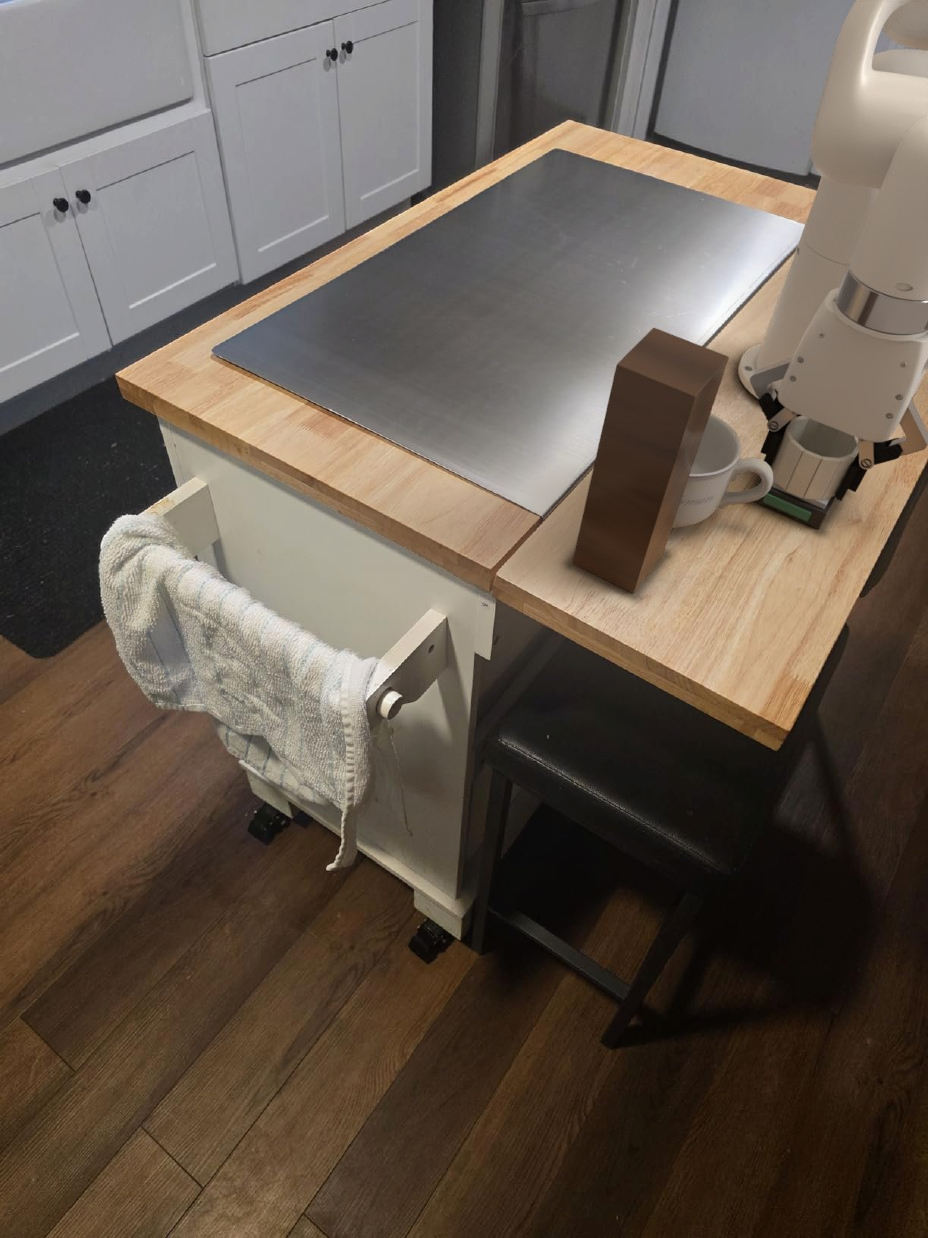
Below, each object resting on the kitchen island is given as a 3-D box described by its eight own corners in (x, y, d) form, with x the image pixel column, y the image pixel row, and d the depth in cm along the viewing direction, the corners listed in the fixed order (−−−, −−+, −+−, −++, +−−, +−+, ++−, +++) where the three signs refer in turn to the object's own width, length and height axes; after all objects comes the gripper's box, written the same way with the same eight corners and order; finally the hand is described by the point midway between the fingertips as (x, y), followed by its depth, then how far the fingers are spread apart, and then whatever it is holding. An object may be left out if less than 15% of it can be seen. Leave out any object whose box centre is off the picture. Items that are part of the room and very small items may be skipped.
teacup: (581, 510, 80) (597, 441, 74) (634, 450, 86) (652, 382, 80) (721, 578, 76) (750, 510, 70) (766, 510, 82) (796, 442, 76)
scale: (774, 462, 86) (783, 441, 84) (841, 490, 84) (852, 469, 82) (748, 500, 82) (757, 479, 80) (817, 531, 80) (828, 510, 78)
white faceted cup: (784, 444, 84) (801, 405, 81) (849, 471, 82) (870, 432, 78) (760, 480, 80) (777, 440, 77) (827, 509, 78) (848, 470, 75)
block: (603, 524, 79) (653, 326, 64) (663, 553, 77) (729, 356, 62) (571, 563, 76) (616, 363, 60) (633, 594, 74) (695, 396, 59)
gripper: (1013, 316, 67) (908, 493, 81) (798, 244, 73) (734, 421, 86) (992, 359, 63) (885, 538, 76) (766, 280, 68) (704, 460, 82)
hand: (806, 474), depth 81 cm, fingers closed on white faceted cup, 6 cm apart
